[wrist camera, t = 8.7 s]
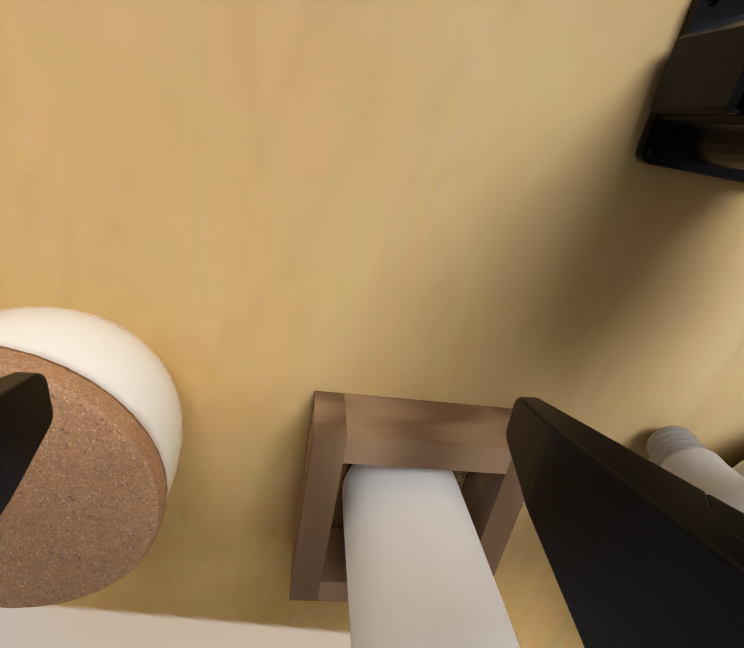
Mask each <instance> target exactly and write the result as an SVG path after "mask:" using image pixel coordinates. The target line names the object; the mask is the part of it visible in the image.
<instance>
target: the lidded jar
mask: <svg viewBox="0 0 744 648" xmlns="http://www.w3.org/2000/svg"><path fill="white" fill-rule="evenodd" d="M15 372H33V373H41V374H43V375H44V376H45V377H46V379H47V382H48V387H49V392H50V397H51V402H52V407H53V420H52V423H51V425H50V427H49V429H48V431H47V433H46V435H45V437H44V439H43V441H42V443H41V444H40V446H39V448H38V450H37V452H36V454H35V456H34V458H33V460H32V462H31V463H30V465H29V467H28V469H27V471H26V473H25V475H24V477H23V479H22V481H21V482H20V484H19V486H18V488H17V490H16V491H15V493H14V495H13V497H12V498H11V500H10V501H9V503H8V505H7V506H6V508H5V509H4V511H3V512H2V514H1V515H0V607H2V608H22V607H38V606H45V605H53V604H59V603H63V602H67V601H70V600H74V599H78V598H81V597H84V596H86V595H89V594H92V593H94V592H97V591H99V590H101V589H103V588H105V587H106V586H108V585H110V584H112V583H113V582H115V581H117V580H118V579H120V578H121V577H123V576H124V575H125V574H126V573H128V572H129V571H130V570H131V569H133V568H134V567H135V566H136V565H137V564H138V562H139V561H140V560H141V559H142V558H143V557H144V556H145V555H146V553H147V551H148V550H149V548H150V546H151V545H152V543H153V541H154V539H155V537H156V535H157V532H158V530H159V527H160V524H161V521H162V518H163V514H164V511H165V508H166V502H167V498H168V495H169V492H170V489H171V486H172V483H173V480H174V477H175V474H176V471H177V468H178V463H179V458H180V454H181V446H182V436H183V416H182V407H181V403H180V398H179V395H178V392H177V389H176V385H175V383H174V381H173V379H172V377H171V375H170V373H169V371H168V370H167V368H166V367H165V366H164V364H163V363H162V362H161V360H160V359H159V357H158V356H157V355H156V354H155V353H154V352H153V351H152V350H151V348H150V347H149V346H148V345H147V344H146V343H144V342H143V341H142V340H141V339H139V338H138V337H137V336H135V335H134V334H133V333H131V332H130V331H128V330H126V329H125V328H123V327H121V326H120V325H118V324H116V323H113V322H111V321H109V320H106V319H104V318H102V317H99V316H95V315H92V314H89V313H85V312H82V311H78V310H73V309H67V308H61V307H42V306H32V307H17V308H7V309H1V310H0V377H3V376H6V375H9V374H12V373H15Z"/></svg>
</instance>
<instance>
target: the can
mask: <svg viewBox="0 0 744 648" xmlns="http://www.w3.org/2000/svg"><path fill="white" fill-rule="evenodd" d="M342 504H343V523H344V540H345V556H346V572H347V588H348V604H349V619H350V635H351V648H520V647H519V644H518V641H517V638H516V635H515V633H514V630H513V627H512V625H511V622H510V619H509V617H508V614H507V611H506V609H505V606H504V603H503V601H502V598H501V595H500V593H499V590H498V587H497V585H496V582H495V580H494V577H493V574H492V572H491V569H490V566H489V564H488V561H487V559H486V556H485V553H484V551H483V548H482V545H481V543H480V540H479V538H478V535H477V532H476V530H475V527H474V525H473V522H472V519H471V517H470V514H469V512H468V509H467V506H466V504H465V501H464V499H463V496H462V493H461V491H460V488H459V486H458V483H457V481H456V478H455V476H454V473H453V471H451V470H436V469H421V468H406V467H390V466H375V465H360V464H353V465H352V466H351V467H350V469H349V470H348V472H347V474H346V476H345V478H344V481H343V486H342Z"/></svg>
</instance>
